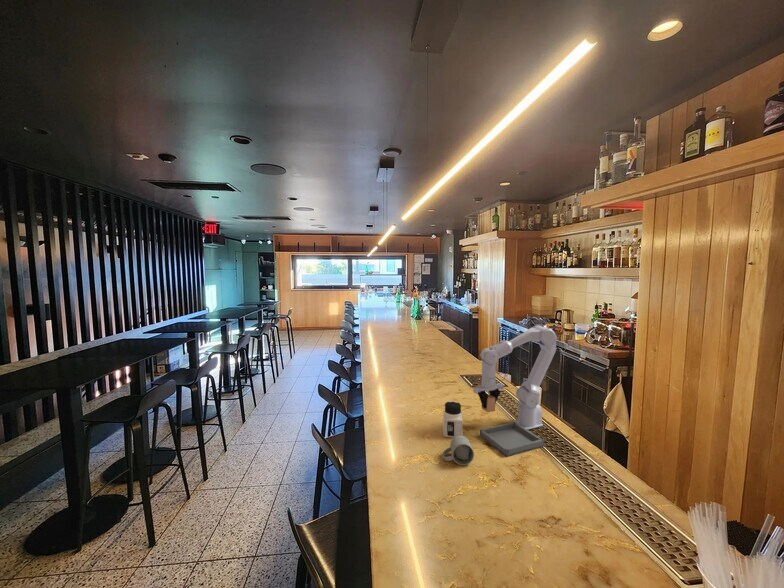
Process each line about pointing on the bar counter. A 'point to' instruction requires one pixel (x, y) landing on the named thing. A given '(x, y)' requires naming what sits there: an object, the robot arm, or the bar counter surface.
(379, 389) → the bar counter surface
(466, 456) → the ceramic mug
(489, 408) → the terracotta block
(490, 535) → the bar counter surface
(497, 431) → the charcoal tray
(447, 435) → the container
